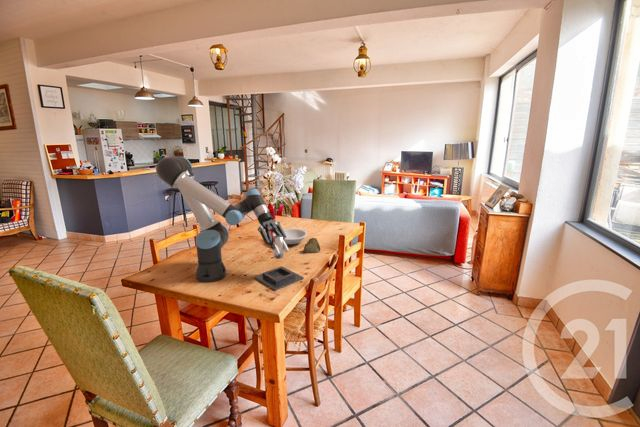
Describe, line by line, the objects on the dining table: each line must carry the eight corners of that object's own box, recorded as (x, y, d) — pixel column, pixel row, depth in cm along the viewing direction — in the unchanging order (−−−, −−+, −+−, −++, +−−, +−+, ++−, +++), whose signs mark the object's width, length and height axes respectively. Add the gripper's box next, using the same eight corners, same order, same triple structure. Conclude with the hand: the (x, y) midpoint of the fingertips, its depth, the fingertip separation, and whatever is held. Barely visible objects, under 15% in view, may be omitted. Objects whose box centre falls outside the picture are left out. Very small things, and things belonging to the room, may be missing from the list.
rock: (298, 249, 189) (312, 250, 184) (302, 236, 193) (315, 237, 187) (307, 254, 198) (320, 256, 193) (310, 242, 201) (323, 243, 196)
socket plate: (274, 290, 143) (274, 285, 143) (254, 278, 156) (254, 272, 155) (303, 279, 155) (303, 273, 155) (282, 268, 168) (282, 263, 167)
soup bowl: (266, 245, 202) (265, 236, 200) (283, 235, 224) (283, 226, 222) (298, 251, 193) (298, 241, 192) (312, 239, 215) (312, 230, 213)
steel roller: (277, 259, 154) (277, 239, 151) (271, 256, 157) (271, 236, 154) (285, 256, 158) (285, 237, 154) (279, 253, 161) (279, 234, 158)
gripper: (273, 215, 169) (293, 251, 163) (246, 222, 157) (265, 261, 150) (279, 208, 164) (299, 245, 158) (251, 214, 152) (271, 254, 145)
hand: (282, 252), depth 154 cm, fingers closed on steel roller, 5 cm apart
